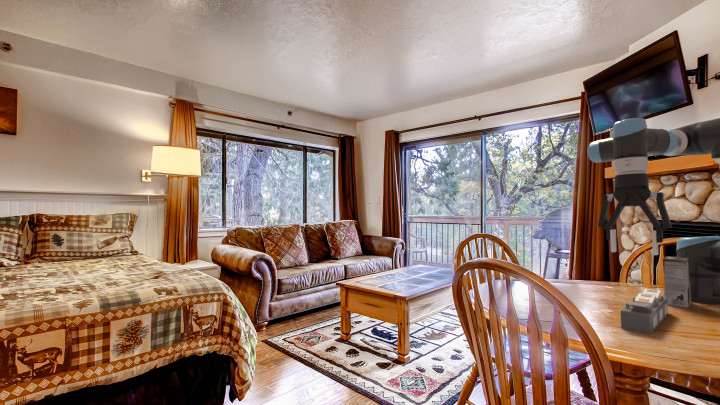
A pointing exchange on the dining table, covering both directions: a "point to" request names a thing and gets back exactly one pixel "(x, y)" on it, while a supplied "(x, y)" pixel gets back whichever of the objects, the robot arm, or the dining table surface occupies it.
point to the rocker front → (638, 304)
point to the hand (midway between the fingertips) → (633, 253)
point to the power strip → (644, 316)
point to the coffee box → (677, 281)
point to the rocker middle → (645, 298)
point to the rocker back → (652, 292)
